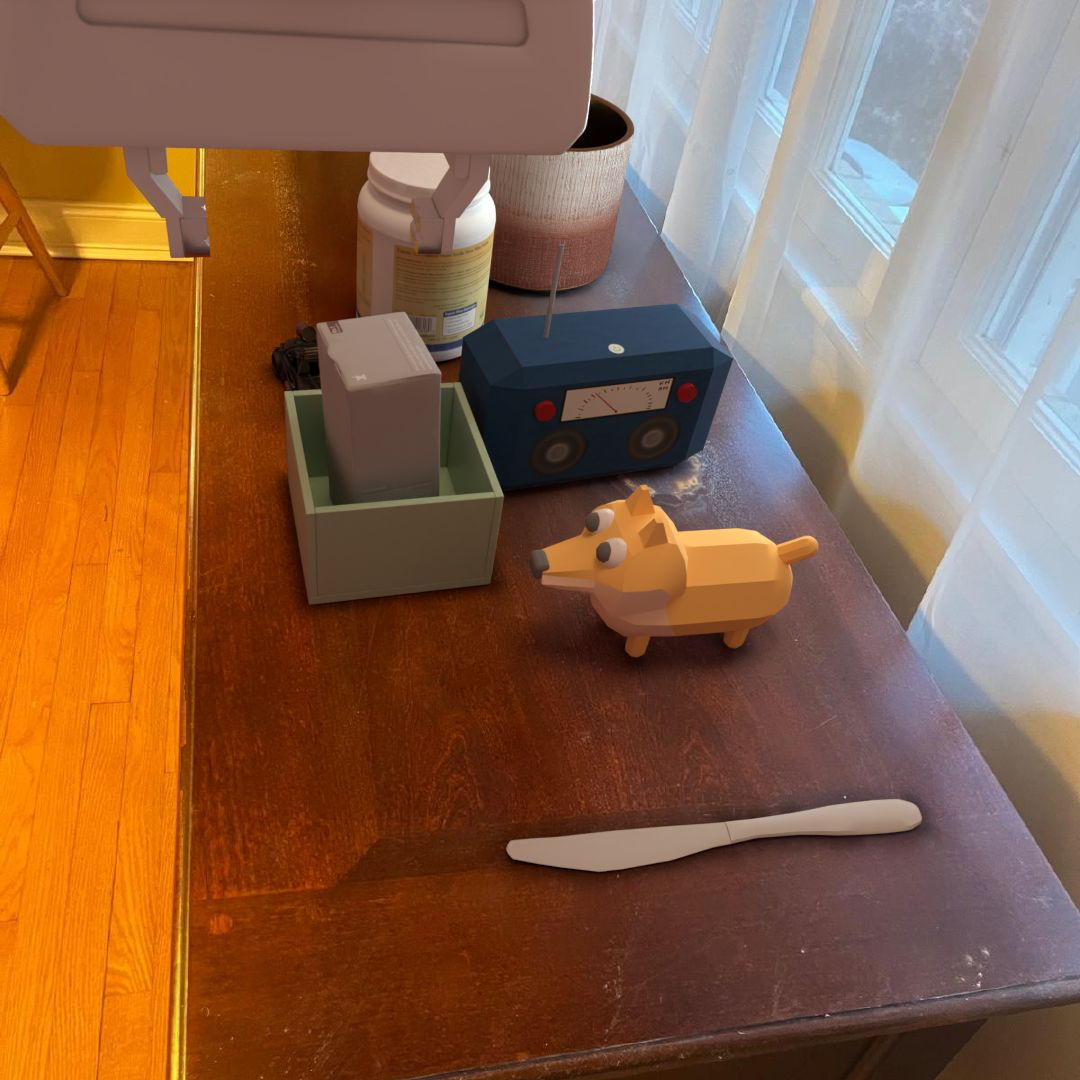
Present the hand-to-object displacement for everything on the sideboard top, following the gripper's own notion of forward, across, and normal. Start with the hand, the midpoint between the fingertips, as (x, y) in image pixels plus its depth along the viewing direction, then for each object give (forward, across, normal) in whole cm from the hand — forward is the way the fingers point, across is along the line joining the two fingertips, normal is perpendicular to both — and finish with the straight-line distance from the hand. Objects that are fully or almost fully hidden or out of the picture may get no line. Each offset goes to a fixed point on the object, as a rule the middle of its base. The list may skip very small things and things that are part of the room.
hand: (314, 249), depth 39 cm
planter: (+33, -30, -58) cm, 73 cm away
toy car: (+33, -4, -35) cm, 48 cm away
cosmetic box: (+32, -6, -17) cm, 37 cm away
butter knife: (+33, -23, +13) cm, 42 cm away
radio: (+33, -25, -24) cm, 48 cm away
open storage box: (+33, -7, -17) cm, 38 cm away
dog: (+33, -24, -4) cm, 41 cm away
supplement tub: (+33, -15, -44) cm, 57 cm away
